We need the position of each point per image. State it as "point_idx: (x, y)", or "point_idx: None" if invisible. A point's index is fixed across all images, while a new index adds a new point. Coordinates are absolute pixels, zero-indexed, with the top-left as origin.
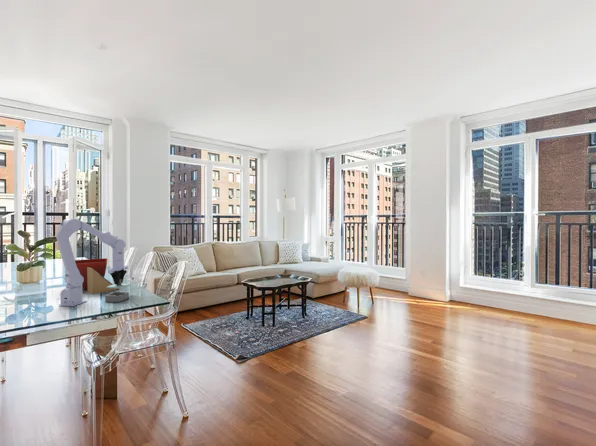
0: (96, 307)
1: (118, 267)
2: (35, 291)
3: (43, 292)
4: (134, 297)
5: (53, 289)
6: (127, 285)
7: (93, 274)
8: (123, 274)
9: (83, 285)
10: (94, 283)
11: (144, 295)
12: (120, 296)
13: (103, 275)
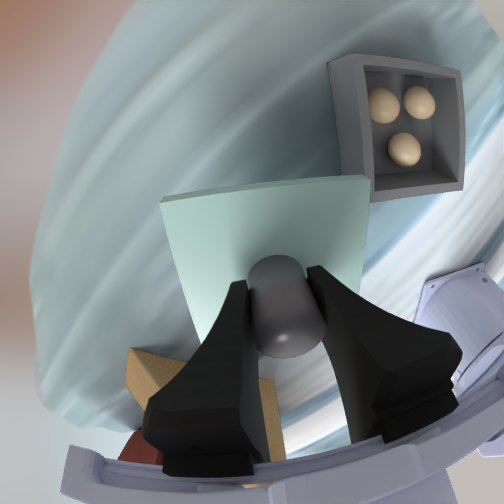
0: (498, 145)
1: (448, 489)
2: None
3: (293, 454)
4: (272, 46)
5: None
6: (227, 189)
7: None
8: (242, 364)
9: None
10: (273, 428)
11: (179, 21)
12: (443, 68)
13: (162, 463)
